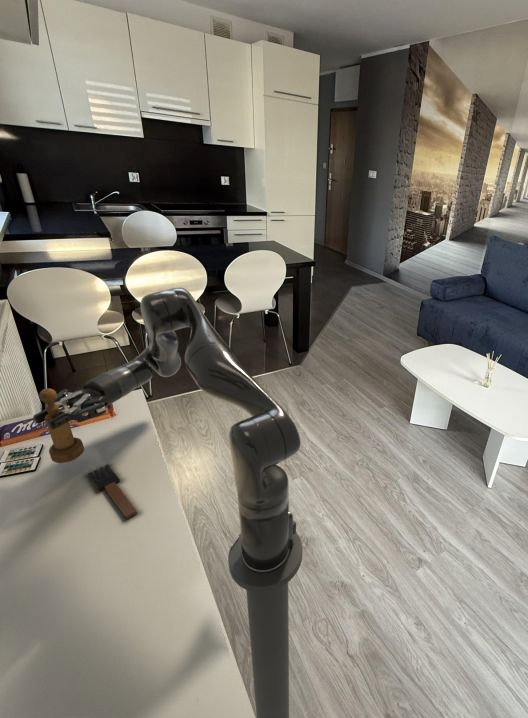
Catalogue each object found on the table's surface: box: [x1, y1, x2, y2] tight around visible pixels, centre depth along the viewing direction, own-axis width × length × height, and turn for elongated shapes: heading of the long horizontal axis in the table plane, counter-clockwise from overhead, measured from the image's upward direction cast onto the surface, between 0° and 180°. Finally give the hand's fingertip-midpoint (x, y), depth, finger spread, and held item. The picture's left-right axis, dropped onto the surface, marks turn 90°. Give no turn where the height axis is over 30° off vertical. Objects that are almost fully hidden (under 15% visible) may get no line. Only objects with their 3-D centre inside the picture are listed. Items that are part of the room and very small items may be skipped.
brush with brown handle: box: [87, 464, 138, 520], centre depth 90 cm, size 19×4×1 cm, turn 49°
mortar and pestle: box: [38, 388, 85, 464], centre depth 90 cm, size 7×6×18 cm
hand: (42, 422), depth 87 cm, fingers closed on mortar and pestle, 4 cm apart
